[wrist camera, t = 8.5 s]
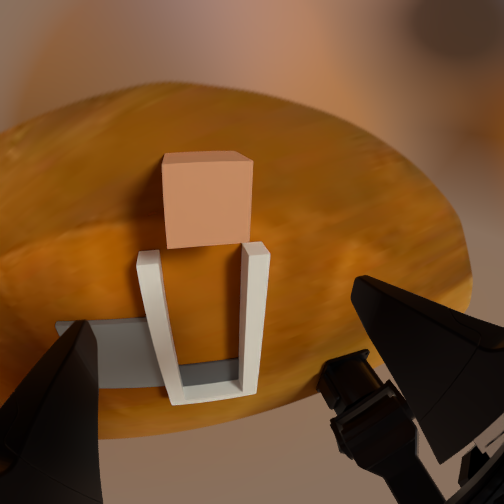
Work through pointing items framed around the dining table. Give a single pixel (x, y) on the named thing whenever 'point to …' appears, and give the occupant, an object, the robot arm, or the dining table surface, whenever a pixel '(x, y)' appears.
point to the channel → (216, 372)
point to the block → (206, 198)
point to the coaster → (123, 353)
